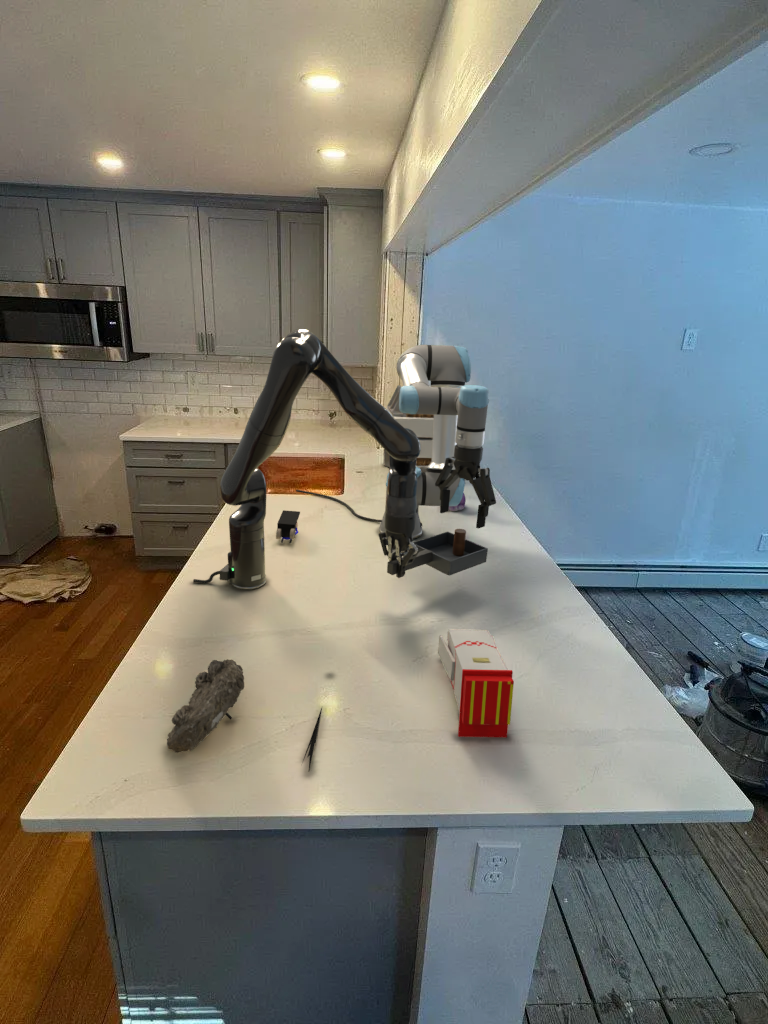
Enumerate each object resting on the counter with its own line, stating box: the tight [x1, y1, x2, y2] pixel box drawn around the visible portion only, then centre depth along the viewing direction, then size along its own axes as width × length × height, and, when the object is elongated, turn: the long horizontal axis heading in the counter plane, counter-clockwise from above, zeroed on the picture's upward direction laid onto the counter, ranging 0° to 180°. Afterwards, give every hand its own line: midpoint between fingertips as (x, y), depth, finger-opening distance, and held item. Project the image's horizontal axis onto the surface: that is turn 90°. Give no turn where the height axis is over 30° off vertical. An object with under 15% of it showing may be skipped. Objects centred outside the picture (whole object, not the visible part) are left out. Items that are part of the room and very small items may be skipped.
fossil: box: [166, 658, 245, 754], centre depth 106 cm, size 22×10×15 cm
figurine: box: [448, 492, 467, 512], centre depth 226 cm, size 9×10×15 cm
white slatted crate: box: [383, 384, 434, 468], centre depth 268 cm, size 34×33×41 cm
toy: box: [437, 628, 515, 738], centre depth 117 cm, size 12×13×30 cm
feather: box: [301, 673, 332, 771], centre depth 108 cm, size 2×28×2 cm
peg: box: [452, 528, 467, 556], centre depth 158 cm, size 3×3×7 cm
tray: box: [386, 531, 489, 577], centre depth 151 cm, size 29×15×4 cm, turn 131°
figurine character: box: [275, 509, 301, 544], centre depth 191 cm, size 7×8×15 cm
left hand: (396, 574), depth 144 cm, fingers closed on tray, 2 cm apart
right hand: (461, 519), depth 158 cm, fingers open, 13 cm apart
